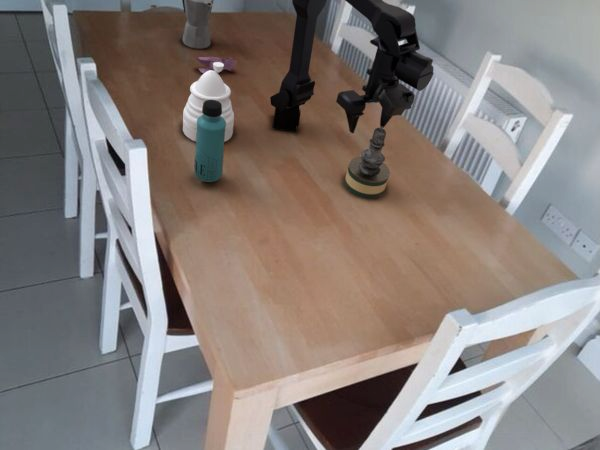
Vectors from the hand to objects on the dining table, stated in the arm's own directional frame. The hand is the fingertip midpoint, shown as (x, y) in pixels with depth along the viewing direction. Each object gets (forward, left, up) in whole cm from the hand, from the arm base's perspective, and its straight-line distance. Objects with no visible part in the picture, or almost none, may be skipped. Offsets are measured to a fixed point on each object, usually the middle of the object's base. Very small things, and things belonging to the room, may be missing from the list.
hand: (366, 129), depth 134 cm
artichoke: (-49, +45, -11) cm, 67 cm away
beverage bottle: (-36, -11, -13) cm, 40 cm away
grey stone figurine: (+2, -5, -8) cm, 9 cm away
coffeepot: (-48, +63, -13) cm, 81 cm away
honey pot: (-38, +10, -13) cm, 42 cm away
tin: (+2, -6, -13) cm, 14 cm away
